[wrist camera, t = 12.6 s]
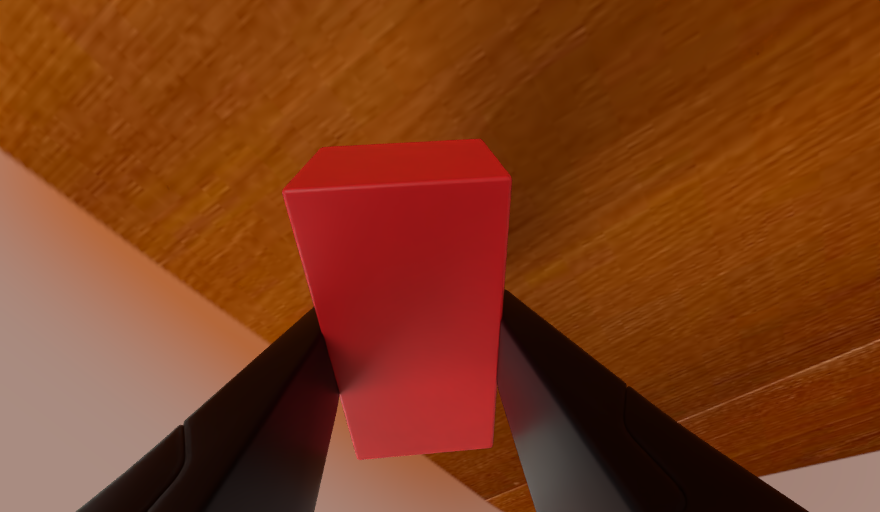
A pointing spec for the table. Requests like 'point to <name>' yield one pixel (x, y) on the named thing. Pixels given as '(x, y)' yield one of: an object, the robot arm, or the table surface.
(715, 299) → the table surface
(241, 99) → the table surface
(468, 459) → the table surface
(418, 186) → the red rectangular block
